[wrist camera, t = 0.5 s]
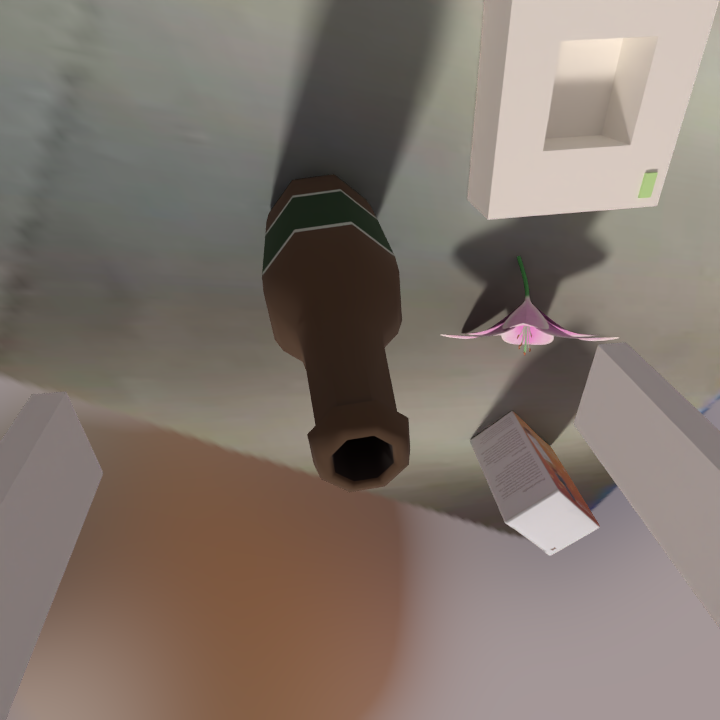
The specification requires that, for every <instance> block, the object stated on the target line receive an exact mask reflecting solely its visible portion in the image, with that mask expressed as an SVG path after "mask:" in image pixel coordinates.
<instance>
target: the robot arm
mask: <svg viewBox="0 0 720 720" xmlns="http://www.w3.org/2000/svg"><path fill="white" fill-rule="evenodd" d="M574 426H575V427H576V428H577V430H578V431H579V433H580V434H581V435H582V437H583V438H584V440H585V441H586V442H587V444H588V445H589V447H590V448H591V449H592V451H593V452H594V454H595V455H596V456H597V458H598V459H599V461H600V462H601V463H602V465H603V466H604V468H605V469H606V470H607V472H608V473H609V475H610V476H611V477H612V479H613V480H614V482H615V483H616V484H617V486H618V487H619V489H620V490H621V491H622V493H623V494H624V495H625V497H626V498H627V500H628V501H629V503H630V504H631V505H632V507H633V508H634V509H635V511H636V512H637V514H638V515H639V516H640V518H641V519H642V521H643V522H644V523H645V525H646V526H647V528H648V529H649V530H650V532H651V533H652V535H653V536H654V537H655V539H656V540H657V542H658V543H659V544H660V546H661V547H662V549H663V550H664V551H665V553H666V554H667V556H668V557H669V558H670V560H671V561H672V562H673V564H674V565H675V567H676V568H677V570H678V571H679V572H680V574H681V575H682V577H683V578H684V579H685V581H686V582H687V584H688V585H689V586H690V588H691V589H692V590H693V592H694V593H695V595H696V596H697V598H698V599H699V600H700V602H701V603H702V604H703V606H704V607H705V609H706V610H707V612H708V613H709V614H710V615H711V617H712V618H713V620H714V621H715V623H716V624H717V625H718V627H719V628H720V431H719V430H718V429H717V428H716V427H715V426H714V425H713V424H712V423H711V422H710V421H709V420H708V419H707V418H705V417H704V416H703V415H702V414H701V413H700V412H699V411H698V410H697V409H696V408H695V407H694V406H693V405H692V404H691V403H690V402H689V401H687V400H686V399H685V398H684V397H683V396H682V395H681V394H680V393H679V392H678V391H677V390H676V389H675V388H674V387H673V386H672V385H671V384H669V383H668V382H667V381H666V380H665V379H664V378H663V377H662V376H661V375H660V374H659V373H658V372H657V371H656V370H655V369H654V368H653V367H651V366H650V365H649V364H648V363H647V362H646V361H645V360H644V359H643V358H642V357H641V356H640V355H639V354H638V353H637V352H636V351H635V350H634V349H632V348H631V347H630V346H629V345H628V344H627V343H626V342H623V343H612V344H600V345H598V346H597V350H596V353H595V356H594V359H593V363H592V366H591V369H590V372H589V376H588V379H587V382H586V385H585V388H584V392H583V395H582V398H581V401H580V405H579V408H578V411H577V414H576V418H575V421H574ZM102 475H103V471H102V469H101V467H100V465H99V463H98V461H97V458H96V456H95V454H94V452H93V449H92V447H91V445H90V443H89V441H88V438H87V436H86V434H85V432H84V430H83V427H82V425H81V423H80V421H79V419H78V416H77V414H76V412H75V410H74V408H73V405H72V403H71V401H70V399H69V396H68V394H67V392H54V393H43V394H32V395H31V396H30V398H29V399H28V401H27V402H26V404H25V405H24V407H23V408H22V410H21V411H20V413H19V414H18V416H17V417H16V419H15V420H14V422H13V423H12V425H11V426H10V428H9V429H8V431H7V432H6V434H5V435H4V437H3V438H2V440H1V441H0V720H6V718H7V716H8V713H9V711H10V708H11V706H12V703H13V701H14V698H15V696H16V693H17V690H18V688H19V686H20V683H21V680H22V678H23V675H24V673H25V670H26V668H27V665H28V663H29V660H30V657H31V655H32V652H33V650H34V647H35V645H36V642H37V640H38V637H39V635H40V632H41V630H42V627H43V624H44V622H45V619H46V617H47V614H48V612H49V609H50V607H51V604H52V602H53V599H54V596H55V594H56V591H57V589H58V586H59V584H60V581H61V579H62V576H63V574H64V571H65V569H66V566H67V564H68V561H69V559H70V556H71V553H72V551H73V548H74V546H75V543H76V541H77V538H78V536H79V533H80V531H81V528H82V525H83V523H84V520H85V518H86V515H87V513H88V510H89V507H90V505H91V503H92V500H93V497H94V495H95V492H96V490H97V487H98V485H99V482H100V480H101V477H102Z"/></svg>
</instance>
